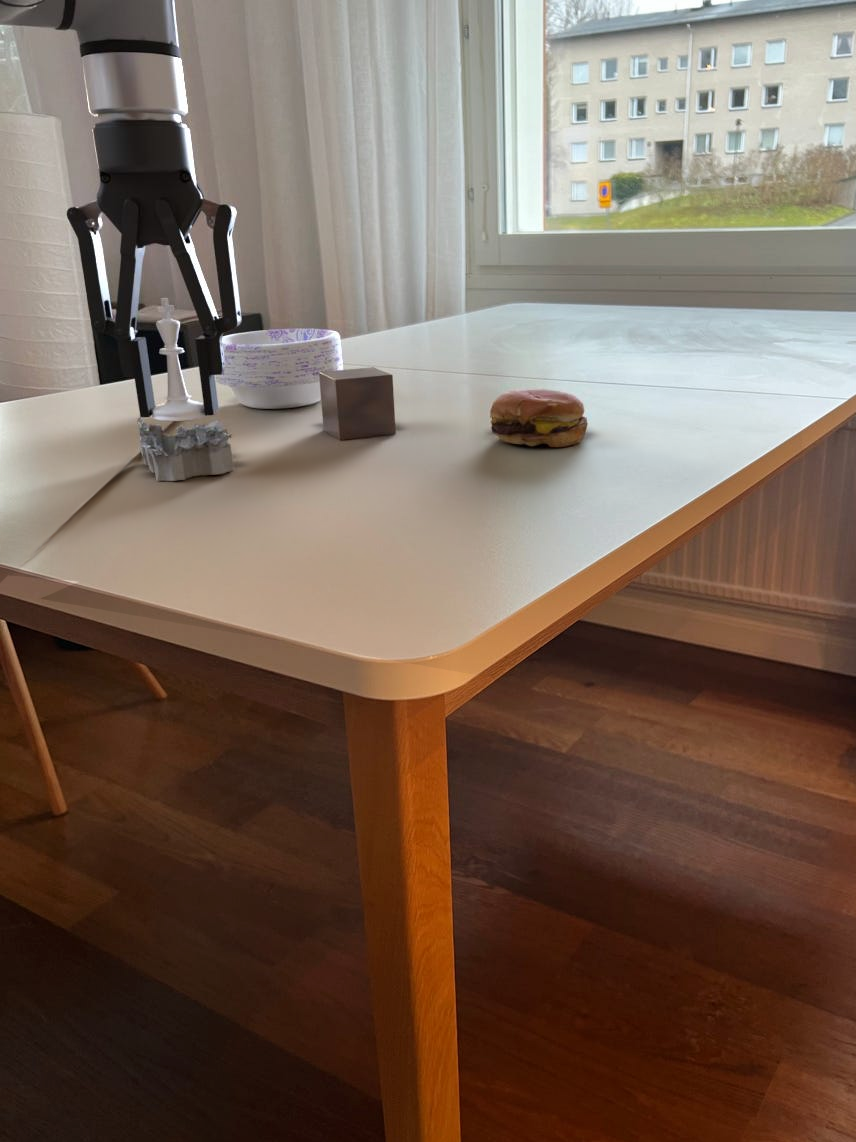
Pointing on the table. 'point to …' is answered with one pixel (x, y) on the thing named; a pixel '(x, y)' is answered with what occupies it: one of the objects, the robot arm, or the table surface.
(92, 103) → the robot arm
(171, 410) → the chess piece
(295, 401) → the paper bowls
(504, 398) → the burger
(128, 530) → the table surface
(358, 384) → the walnut block
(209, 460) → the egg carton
